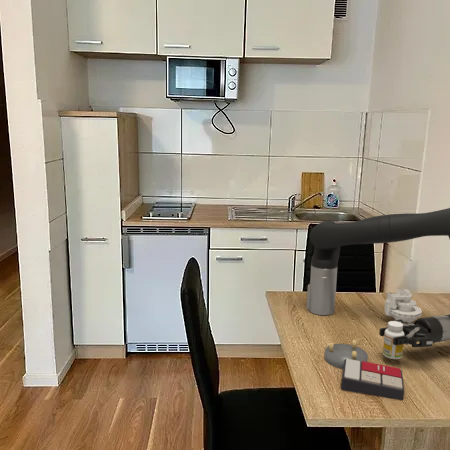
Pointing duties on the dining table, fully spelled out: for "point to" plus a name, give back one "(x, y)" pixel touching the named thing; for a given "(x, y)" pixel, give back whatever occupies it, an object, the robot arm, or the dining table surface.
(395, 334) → the supplement bottle
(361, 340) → the dining table surface
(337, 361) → the pin base
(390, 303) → the mechanical part
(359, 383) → the calculator
